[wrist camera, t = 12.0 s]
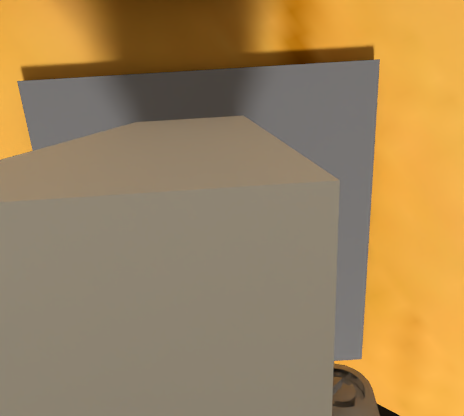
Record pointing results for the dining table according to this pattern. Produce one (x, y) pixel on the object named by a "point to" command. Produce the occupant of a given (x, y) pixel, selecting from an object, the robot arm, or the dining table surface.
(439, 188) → the dining table surface
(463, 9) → the dining table surface
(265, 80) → the rubber mat
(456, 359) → the dining table surface
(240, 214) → the white rectangular block
